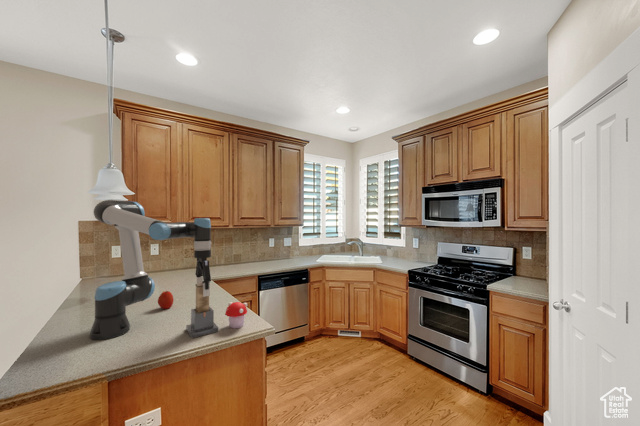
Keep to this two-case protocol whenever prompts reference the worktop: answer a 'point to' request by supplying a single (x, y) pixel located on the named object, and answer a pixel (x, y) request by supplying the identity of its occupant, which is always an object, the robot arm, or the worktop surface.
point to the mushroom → (236, 314)
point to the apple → (165, 300)
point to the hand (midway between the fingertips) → (202, 293)
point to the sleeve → (201, 323)
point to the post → (201, 299)
